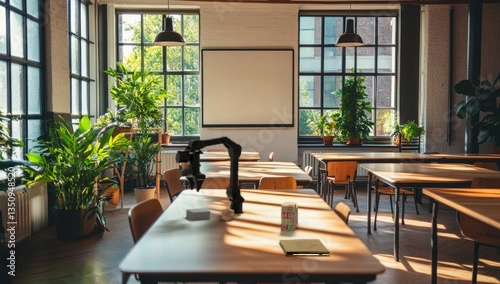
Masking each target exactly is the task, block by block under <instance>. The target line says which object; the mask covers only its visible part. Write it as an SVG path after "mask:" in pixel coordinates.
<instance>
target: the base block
mask: <svg viewBox="0 0 500 284" xmlns="http://www.w3.org/2000/svg"><path fill="white" fill-rule="evenodd" d="M185 213H186V214H185V217H186V218H188V219H190V220H192V221H196V220H210V219H211V210H208V209H206V208H203V207H202V208H189V209H186V210H185Z"/></svg>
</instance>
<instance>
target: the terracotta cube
mask: <svg viewBox="0 0 500 284" xmlns="http://www.w3.org/2000/svg"><path fill="white" fill-rule="evenodd" d="M234 216H235V214H234V210H231V209H230V208H228V209H221V220H224V221H234V220H235V217H234Z"/></svg>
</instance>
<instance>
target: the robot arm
mask: <svg viewBox="0 0 500 284" xmlns="http://www.w3.org/2000/svg"><path fill="white" fill-rule="evenodd" d="M216 145H218V146H219V145H223V146H224V147H225V148H226V149H227V153H228V157H229V158H230V161H229V171H230V172H229V185H228V186H226V187H225V191H226V192H225V194H226V197H227V198H228V200H229V202H230V204H229V209H231V210H234V215H235V214H243V213H244V211H243V210H244V209H243V207H244V206H243V204H244V202H245V200H246V199H245V198H244V197H243V196H242V195H241V194H242V193H241V188H240V185H239V167H240V166H239V162H240V160H239V159H240V157H241V156H242V152H243V147H242V146H241V144H239V143H237V142H235V141H233V140H232V139H230V138H229V137H228V136H224V135H223V136H219V137H214V138H213V137H212V138H209V139H208V138H207V139H190V140H189V141H188V144H187V146H186V147H185V149H184V150H177V151H176V154H175V162H176V164H188V163H189V164H188V165H187V167H185V168H182V169H180V170H178V171H179V175H180V177H182V178H184V177H185V179H186V180H187V181H188V184H189V185H188V186H189V188H190V191H193V190H194V187H195V191H196V193H199V192H200V190H201V188H202V186H203V184H204V182H205V181H206V179H207V175H206V174H205V173H202V171H201V167H202V164H201V155H204V154H205V153H204V152H203V150H202V149H204V148H206V147H211V146H216Z"/></svg>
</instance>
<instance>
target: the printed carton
mask: <svg viewBox="0 0 500 284" xmlns="http://www.w3.org/2000/svg"><path fill="white" fill-rule="evenodd" d="M280 207H281V208H280V209H281V213H280V231H285V230H291V232H294V231H295V229H296V227H297V225H298V223H299V211H298V210H299V205H298V204H297V202H296V201H284V202H283V203H282V204H281V206H280ZM296 224H297V225H296ZM293 230H294V231H293Z"/></svg>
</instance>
